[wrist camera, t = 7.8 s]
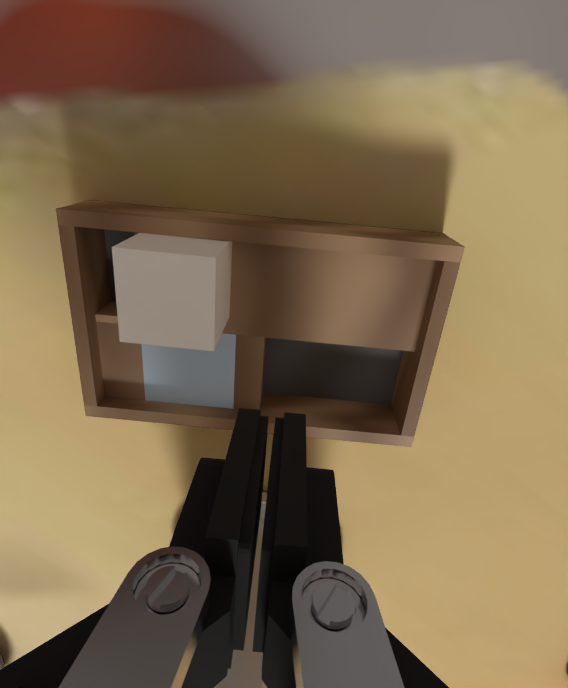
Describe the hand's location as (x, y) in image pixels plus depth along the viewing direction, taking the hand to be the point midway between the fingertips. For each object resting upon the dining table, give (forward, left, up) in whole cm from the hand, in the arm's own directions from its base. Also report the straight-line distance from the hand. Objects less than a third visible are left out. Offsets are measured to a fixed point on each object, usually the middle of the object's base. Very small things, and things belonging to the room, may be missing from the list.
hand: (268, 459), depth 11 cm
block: (-1, +5, -11) cm, 12 cm away
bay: (-6, +3, -14) cm, 15 cm away
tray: (-2, +1, -14) cm, 14 cm away
